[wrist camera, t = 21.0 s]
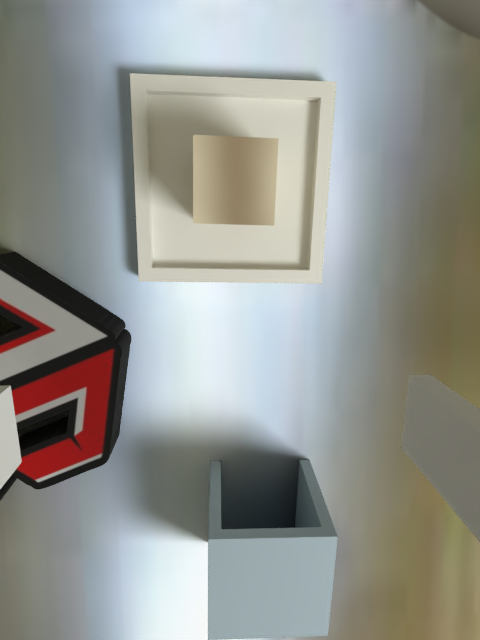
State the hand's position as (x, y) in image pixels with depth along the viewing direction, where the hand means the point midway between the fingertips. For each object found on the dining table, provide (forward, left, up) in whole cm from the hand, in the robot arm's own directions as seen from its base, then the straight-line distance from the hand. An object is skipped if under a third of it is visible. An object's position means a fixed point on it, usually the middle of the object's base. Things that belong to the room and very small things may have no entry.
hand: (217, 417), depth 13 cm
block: (+1, +8, -19) cm, 21 cm away
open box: (+4, -20, -20) cm, 28 cm away
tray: (+1, +8, -20) cm, 22 cm away
